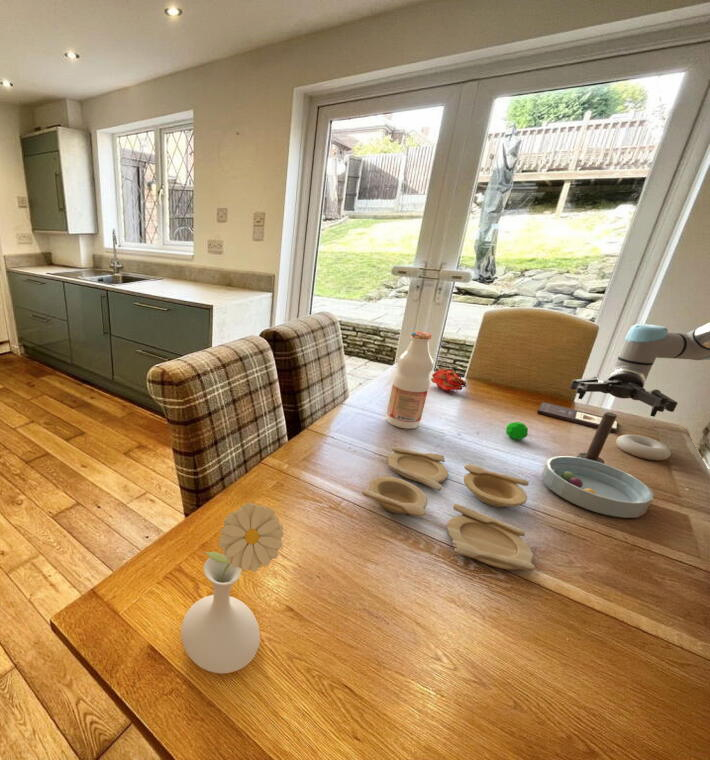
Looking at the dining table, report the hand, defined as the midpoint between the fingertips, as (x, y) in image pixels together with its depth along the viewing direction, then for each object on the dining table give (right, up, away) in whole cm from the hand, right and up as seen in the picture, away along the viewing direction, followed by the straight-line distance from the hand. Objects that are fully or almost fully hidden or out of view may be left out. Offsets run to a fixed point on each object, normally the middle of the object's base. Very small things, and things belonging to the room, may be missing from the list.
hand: (616, 402), depth 102 cm
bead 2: (-23, -18, -12) cm, 31 cm away
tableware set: (-54, -21, -16) cm, 60 cm away
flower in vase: (-104, -32, -44) cm, 118 cm away
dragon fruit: (-18, +2, +42) cm, 46 cm away
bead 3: (-23, -19, -16) cm, 34 cm away
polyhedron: (-19, -11, +10) cm, 24 cm away
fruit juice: (-46, -7, +19) cm, 50 cm away
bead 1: (-22, -17, -10) cm, 30 cm away
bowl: (-20, -20, -13) cm, 31 cm away
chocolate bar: (+10, -6, +22) cm, 25 cm away
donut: (+10, -14, +4) cm, 17 cm away
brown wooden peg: (-8, -15, -1) cm, 18 cm away
